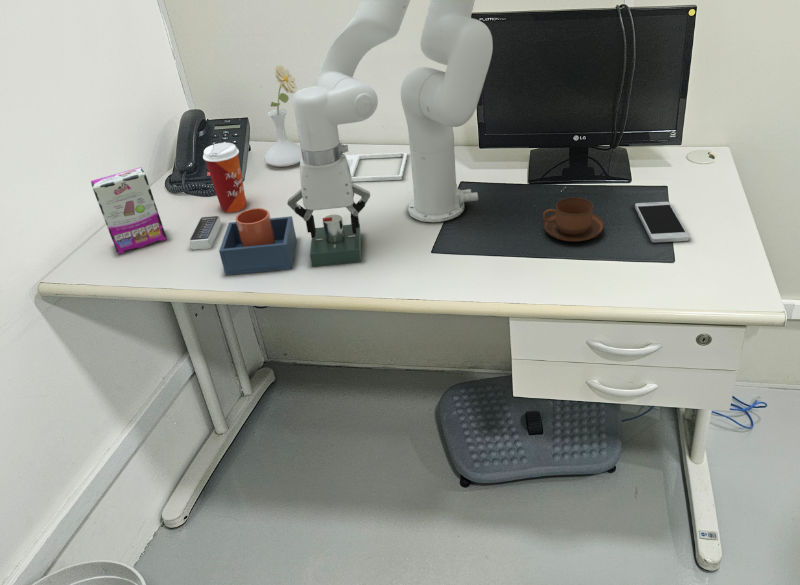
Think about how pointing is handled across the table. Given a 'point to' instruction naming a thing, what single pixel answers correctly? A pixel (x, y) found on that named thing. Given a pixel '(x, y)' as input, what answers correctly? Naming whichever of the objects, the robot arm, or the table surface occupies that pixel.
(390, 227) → the table surface
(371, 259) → the table surface
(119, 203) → the candy bar box
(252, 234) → the cup
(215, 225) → the multiport hub
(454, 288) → the table surface
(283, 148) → the flower in vase
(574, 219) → the cup and saucer
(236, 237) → the basin
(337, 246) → the green dial base
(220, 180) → the coffee cup
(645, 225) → the smartphone
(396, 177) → the photo frame
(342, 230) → the rotary dial knob
